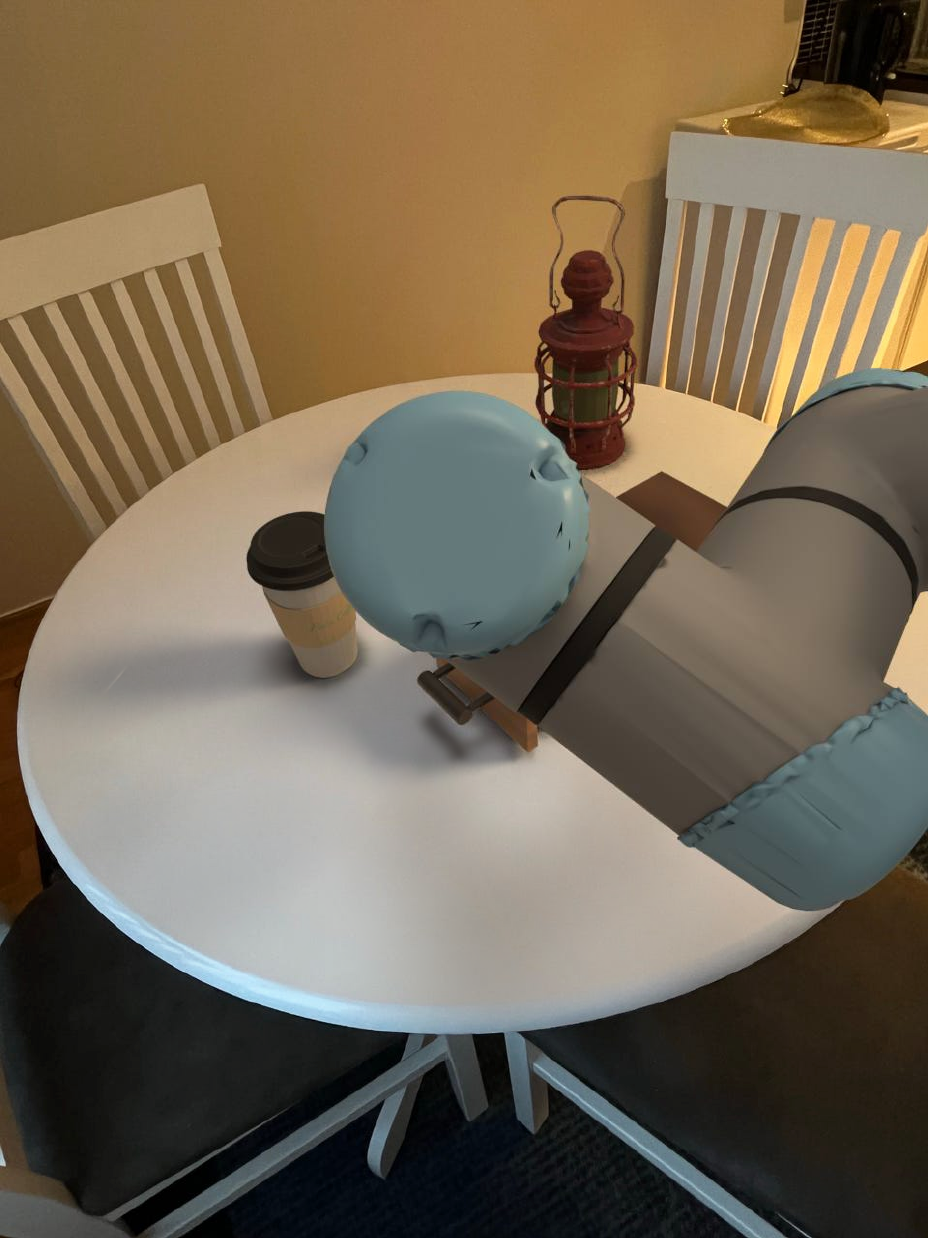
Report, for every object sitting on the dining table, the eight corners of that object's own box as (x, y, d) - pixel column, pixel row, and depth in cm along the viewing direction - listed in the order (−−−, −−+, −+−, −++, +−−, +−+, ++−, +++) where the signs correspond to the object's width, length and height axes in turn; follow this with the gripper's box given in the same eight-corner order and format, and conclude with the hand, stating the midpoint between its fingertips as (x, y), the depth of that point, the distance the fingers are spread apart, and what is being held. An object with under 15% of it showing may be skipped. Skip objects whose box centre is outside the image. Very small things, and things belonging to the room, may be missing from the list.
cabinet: (646, 684, 77) (653, 617, 71) (542, 604, 86) (540, 539, 80) (763, 602, 84) (778, 534, 78) (655, 535, 92) (661, 470, 86)
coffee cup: (351, 699, 79) (319, 581, 68) (264, 681, 81) (220, 564, 71) (389, 631, 85) (365, 513, 75) (307, 616, 88) (273, 499, 77)
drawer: (488, 780, 70) (483, 730, 65) (399, 689, 78) (389, 639, 73) (654, 665, 77) (660, 612, 73) (558, 593, 86) (558, 541, 81)
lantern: (642, 427, 108) (660, 178, 88) (619, 480, 100) (633, 219, 80) (552, 416, 112) (549, 174, 91) (523, 465, 104) (513, 213, 84)
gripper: (238, 635, 39) (363, 634, 60) (794, 658, 35) (721, 648, 56) (244, 476, 39) (367, 530, 60) (800, 481, 35) (724, 537, 56)
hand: (538, 587), depth 58 cm, fingers open, 13 cm apart
